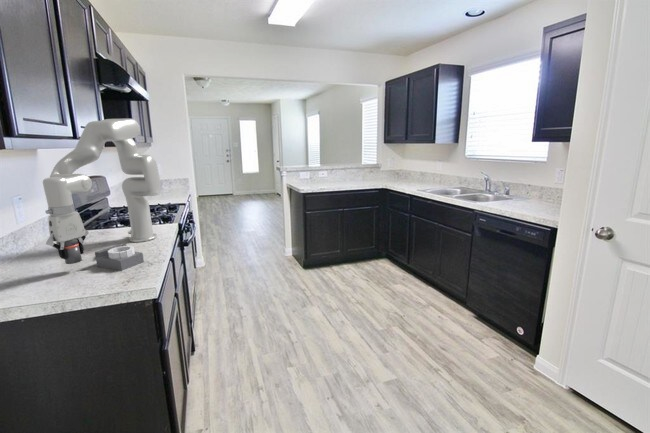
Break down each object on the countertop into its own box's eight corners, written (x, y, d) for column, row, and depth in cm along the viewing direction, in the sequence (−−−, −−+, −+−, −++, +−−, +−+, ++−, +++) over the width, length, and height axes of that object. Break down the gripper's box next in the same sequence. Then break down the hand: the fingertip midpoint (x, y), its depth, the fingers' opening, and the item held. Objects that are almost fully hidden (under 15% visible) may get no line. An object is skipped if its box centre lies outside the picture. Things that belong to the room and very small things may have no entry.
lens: (62, 263, 130) (56, 238, 127) (76, 258, 134) (70, 234, 132) (71, 264, 128) (65, 239, 125) (85, 259, 132) (79, 235, 130)
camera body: (97, 266, 137) (94, 251, 135) (119, 258, 146) (117, 243, 144) (122, 270, 132) (119, 254, 130) (143, 261, 141) (141, 246, 139)
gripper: (43, 216, 117) (54, 265, 121) (91, 205, 132) (100, 249, 137) (29, 215, 120) (41, 262, 124) (78, 204, 135) (88, 247, 140)
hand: (72, 255), depth 130 cm, fingers closed on lens, 5 cm apart
